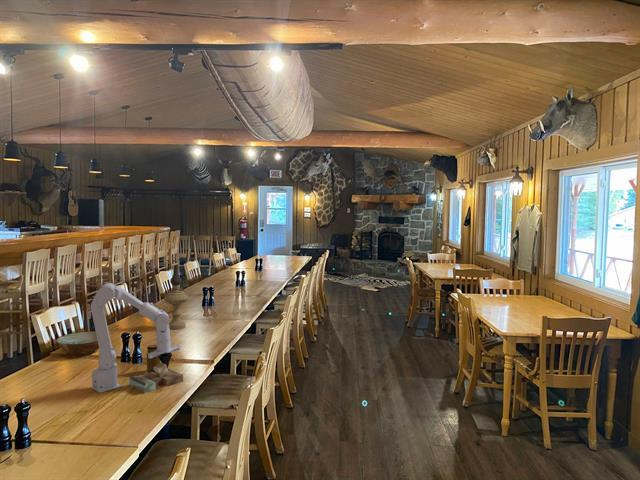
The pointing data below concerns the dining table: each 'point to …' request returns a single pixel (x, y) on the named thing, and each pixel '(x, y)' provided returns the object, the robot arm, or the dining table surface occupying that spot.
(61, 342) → the bowl
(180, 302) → the oil lamp
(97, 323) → the robot arm
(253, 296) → the dining table surface
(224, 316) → the dining table surface
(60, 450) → the dining table surface
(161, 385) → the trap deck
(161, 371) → the block
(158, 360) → the condiment
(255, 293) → the dining table surface
